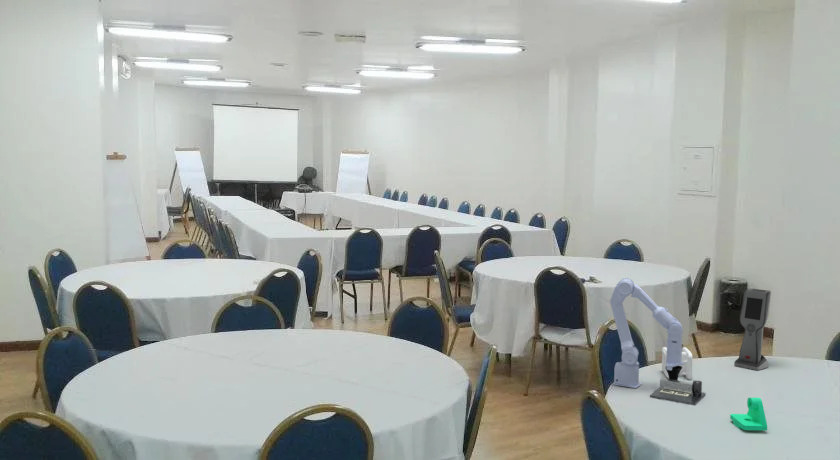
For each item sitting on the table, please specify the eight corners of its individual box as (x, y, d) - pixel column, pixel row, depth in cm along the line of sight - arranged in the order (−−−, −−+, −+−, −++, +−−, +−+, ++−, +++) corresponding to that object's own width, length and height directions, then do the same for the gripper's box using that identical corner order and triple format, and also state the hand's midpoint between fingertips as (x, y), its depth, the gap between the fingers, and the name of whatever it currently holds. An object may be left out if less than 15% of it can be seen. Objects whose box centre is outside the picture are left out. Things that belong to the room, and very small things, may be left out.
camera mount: (729, 421, 242) (730, 392, 242) (751, 421, 242) (752, 392, 242) (743, 433, 230) (744, 403, 230) (767, 433, 230) (768, 403, 230)
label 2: (674, 394, 270) (674, 393, 270) (677, 391, 274) (677, 390, 274) (687, 396, 267) (687, 395, 267) (690, 393, 271) (690, 392, 271)
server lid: (649, 397, 269) (649, 395, 269) (661, 387, 282) (661, 385, 282) (695, 405, 259) (695, 403, 259) (705, 394, 272) (705, 392, 272)
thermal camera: (772, 366, 315) (774, 290, 313) (758, 371, 307) (760, 293, 305) (747, 361, 324) (749, 287, 322) (732, 365, 317) (735, 290, 314)
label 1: (659, 392, 273) (659, 391, 273) (663, 389, 277) (663, 388, 277) (672, 394, 270) (672, 393, 270) (676, 391, 274) (676, 390, 274)
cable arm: (702, 394, 270) (702, 381, 269) (700, 396, 267) (700, 383, 267) (661, 387, 279) (662, 375, 278) (659, 389, 276) (659, 376, 276)
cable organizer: (692, 381, 291) (693, 354, 290) (666, 380, 293) (667, 353, 292) (685, 372, 306) (685, 346, 305) (660, 371, 308) (661, 345, 307)
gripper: (679, 355, 271) (678, 389, 271) (689, 348, 283) (688, 381, 283) (661, 353, 275) (660, 386, 276) (671, 346, 287) (670, 378, 287)
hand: (673, 383), depth 280 cm, fingers closed
